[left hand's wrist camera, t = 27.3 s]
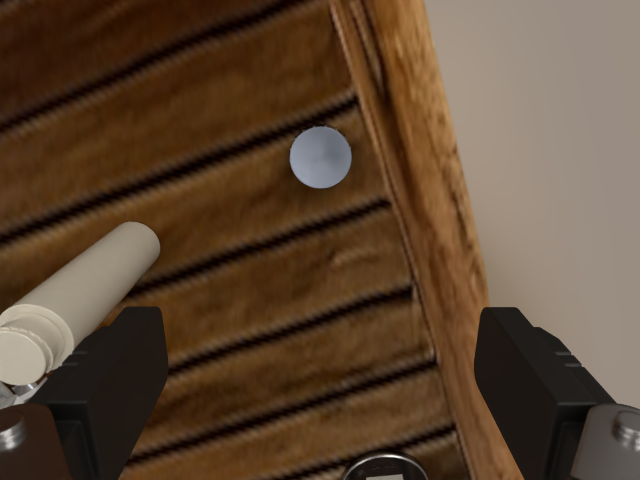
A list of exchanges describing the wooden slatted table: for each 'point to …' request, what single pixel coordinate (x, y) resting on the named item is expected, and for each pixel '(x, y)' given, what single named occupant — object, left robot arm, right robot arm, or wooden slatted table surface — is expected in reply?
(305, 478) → the wooden slatted table surface
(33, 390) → the right robot arm
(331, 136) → the lid
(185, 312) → the wooden slatted table surface
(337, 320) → the wooden slatted table surface
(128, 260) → the beige tall cylinder
